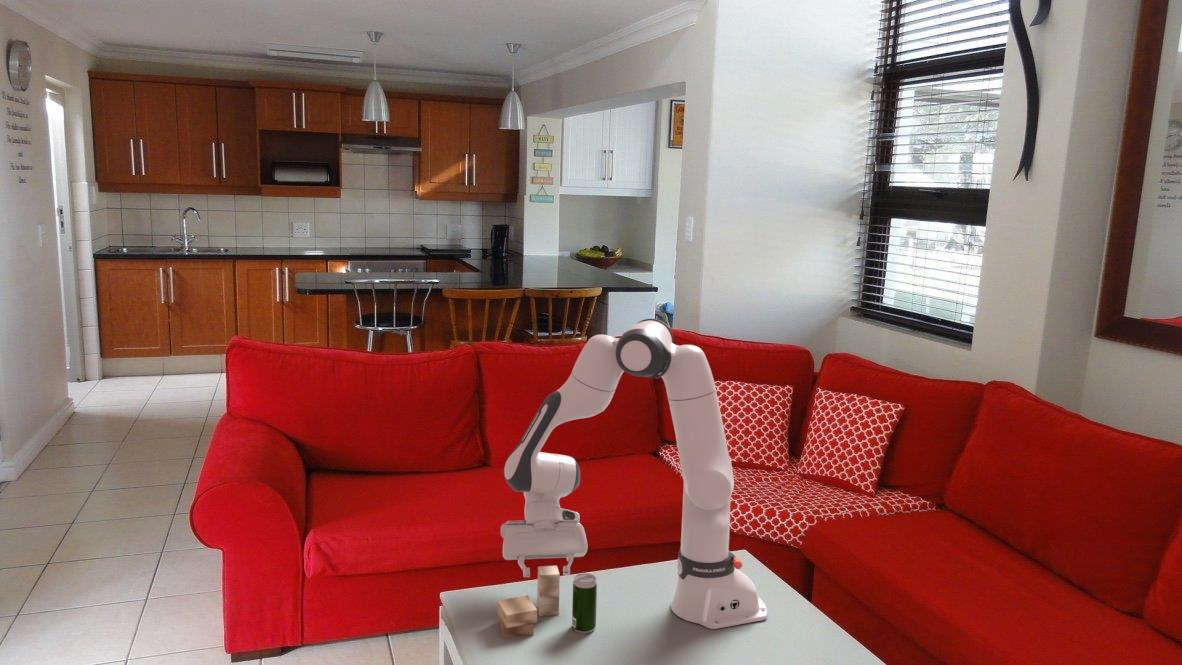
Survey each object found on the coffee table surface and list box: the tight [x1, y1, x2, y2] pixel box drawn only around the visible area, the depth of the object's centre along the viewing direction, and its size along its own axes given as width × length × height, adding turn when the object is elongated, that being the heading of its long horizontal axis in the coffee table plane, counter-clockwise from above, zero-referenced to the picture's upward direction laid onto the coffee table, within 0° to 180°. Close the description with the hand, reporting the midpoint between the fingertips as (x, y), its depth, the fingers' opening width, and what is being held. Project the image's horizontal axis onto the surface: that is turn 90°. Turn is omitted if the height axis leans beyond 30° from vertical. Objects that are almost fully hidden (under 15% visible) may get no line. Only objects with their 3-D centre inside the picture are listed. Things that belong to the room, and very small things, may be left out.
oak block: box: [496, 595, 538, 628], centre depth 187 cm, size 7×7×3 cm
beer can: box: [571, 572, 598, 635], centre depth 187 cm, size 5×5×12 cm
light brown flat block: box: [498, 617, 535, 638], centre depth 187 cm, size 7×7×3 cm
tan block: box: [536, 565, 560, 617], centre depth 195 cm, size 4×4×10 cm
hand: (546, 575), depth 197 cm, fingers open, 8 cm apart
